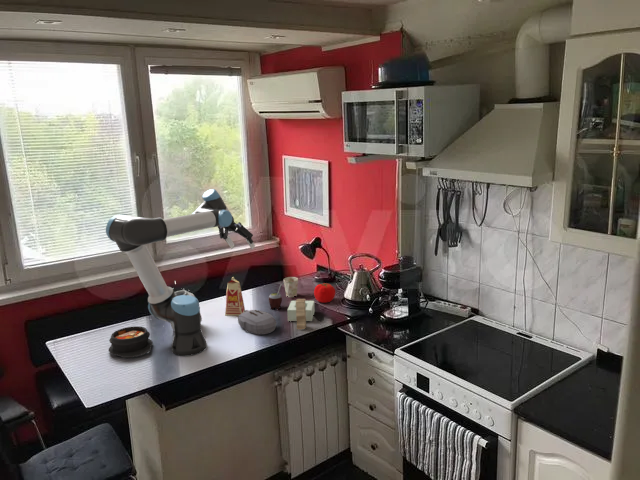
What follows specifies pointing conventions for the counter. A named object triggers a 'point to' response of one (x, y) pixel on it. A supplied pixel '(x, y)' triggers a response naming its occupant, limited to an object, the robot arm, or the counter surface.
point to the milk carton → (234, 299)
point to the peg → (301, 313)
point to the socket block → (309, 311)
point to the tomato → (324, 292)
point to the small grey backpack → (257, 322)
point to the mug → (291, 286)
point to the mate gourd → (275, 299)
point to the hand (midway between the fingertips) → (243, 247)
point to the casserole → (130, 342)
